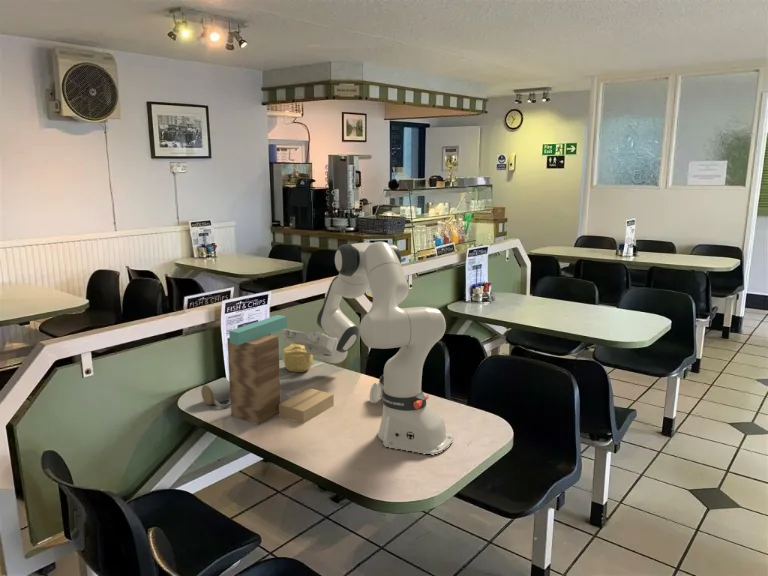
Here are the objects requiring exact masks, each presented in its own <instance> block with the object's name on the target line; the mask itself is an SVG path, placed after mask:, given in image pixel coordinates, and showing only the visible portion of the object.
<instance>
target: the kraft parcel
mask: <svg viewBox="0 0 768 576" xmlns="http://www.w3.org/2000/svg"><path fill="white" fill-rule="evenodd" d="M334 398H335V397H334V393H329V392H325V391H323V390H318V389H313V388H312V387H311V388H310V387H309V388H308V389H306V390H303V391H302V392H300V393H298V394H296V395H294V396H293V397H290V398H289V399H286V400H284V401H283V402H281V404H279V414H278V416H279V417H280V418H284V419H287V420H288V419H289V420H291V421H295V422H298V423H302V424H305V423H307V422H309V421H310V420H312V419H313V418H315V417H317V416H318V415H321V414H322V413H323V412H325V411H327V410H328V409H330V408H332V407H333V406H334V404H335V403H334V402H335V401H334Z"/></svg>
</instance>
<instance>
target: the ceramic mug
mask: <svg viewBox="0 0 768 576" xmlns="http://www.w3.org/2000/svg"><path fill="white" fill-rule="evenodd" d="M200 393H201V397H202V400H203V401H204V403H205V404H206V405H208V404H210V406H212V404H213V405H215V406H217V407H219V408H221V409H227V408H229V407H231V399H230V380H228V378H226V377H221V378H218V379H216V380H215V379H214V380H213V381H211V382H209V383H205V384H204V385H203V386H202V387H201V390H200ZM229 400H230V402H229V403H226V404H221V403H222V402H226V401H229ZM226 407H227V408H226Z"/></svg>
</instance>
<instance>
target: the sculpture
mask: <svg viewBox="0 0 768 576" xmlns="http://www.w3.org/2000/svg"><path fill="white" fill-rule="evenodd" d="M282 352H283V353H282V354H283V356H282V360H283V364H284V367H285V368H286V369H287V370H288V371H290V372H292V373H302V372H306V371H308V370H309V369H310V368H311V367H312V364H313V362H314V356H313V355H311V354H309V353H307V351H306V350H305V345H300V344H295V343H290V345H288V346H286V347H285V348H283V349H282Z"/></svg>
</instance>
